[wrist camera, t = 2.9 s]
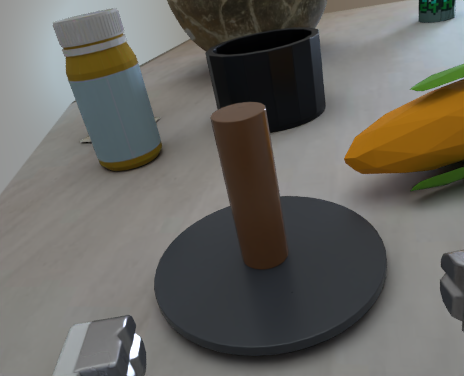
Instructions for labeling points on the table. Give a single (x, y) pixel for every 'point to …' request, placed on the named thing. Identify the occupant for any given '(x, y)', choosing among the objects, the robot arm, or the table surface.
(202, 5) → the bowl
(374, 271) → the lid
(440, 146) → the corn
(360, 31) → the table surface
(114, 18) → the bottle
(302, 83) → the pot
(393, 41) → the table surface
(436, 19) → the can
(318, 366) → the table surface
